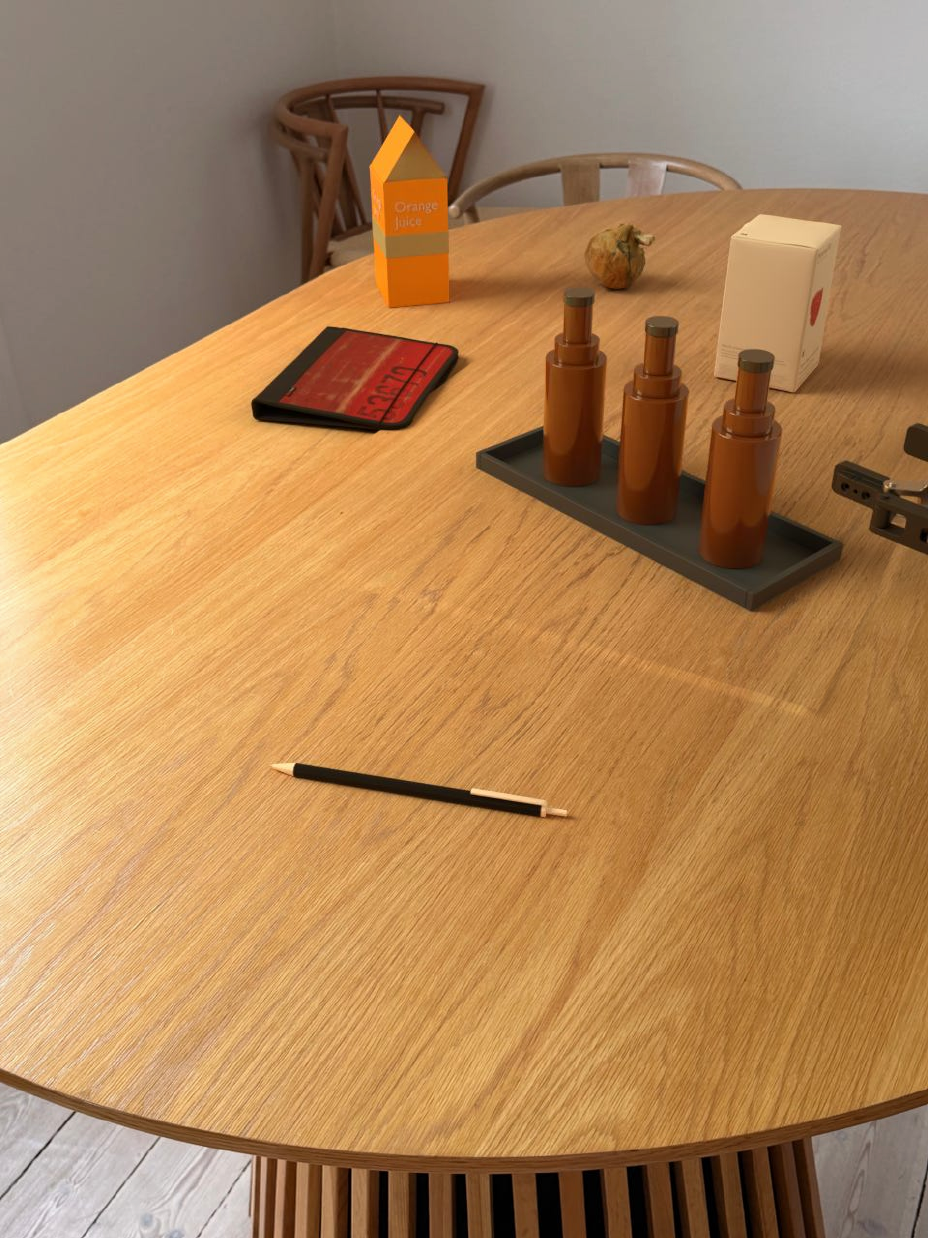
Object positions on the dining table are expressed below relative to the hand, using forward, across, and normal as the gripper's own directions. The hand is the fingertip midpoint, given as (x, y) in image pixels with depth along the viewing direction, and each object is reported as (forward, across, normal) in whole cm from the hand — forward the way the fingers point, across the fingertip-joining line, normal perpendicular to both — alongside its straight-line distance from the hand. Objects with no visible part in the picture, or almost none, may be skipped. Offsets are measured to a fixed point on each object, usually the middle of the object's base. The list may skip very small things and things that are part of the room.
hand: (873, 455), depth 83 cm
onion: (+62, +40, -14) cm, 75 cm away
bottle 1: (+29, 0, -13) cm, 31 cm away
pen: (+6, -36, -14) cm, 39 cm away
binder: (+58, -2, -14) cm, 59 cm away
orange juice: (+77, +20, -14) cm, 80 cm away
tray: (+20, 0, -13) cm, 24 cm away
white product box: (+32, +33, -14) cm, 48 cm away
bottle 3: (+10, 0, -13) cm, 16 cm away
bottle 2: (+20, 0, -13) cm, 23 cm away
